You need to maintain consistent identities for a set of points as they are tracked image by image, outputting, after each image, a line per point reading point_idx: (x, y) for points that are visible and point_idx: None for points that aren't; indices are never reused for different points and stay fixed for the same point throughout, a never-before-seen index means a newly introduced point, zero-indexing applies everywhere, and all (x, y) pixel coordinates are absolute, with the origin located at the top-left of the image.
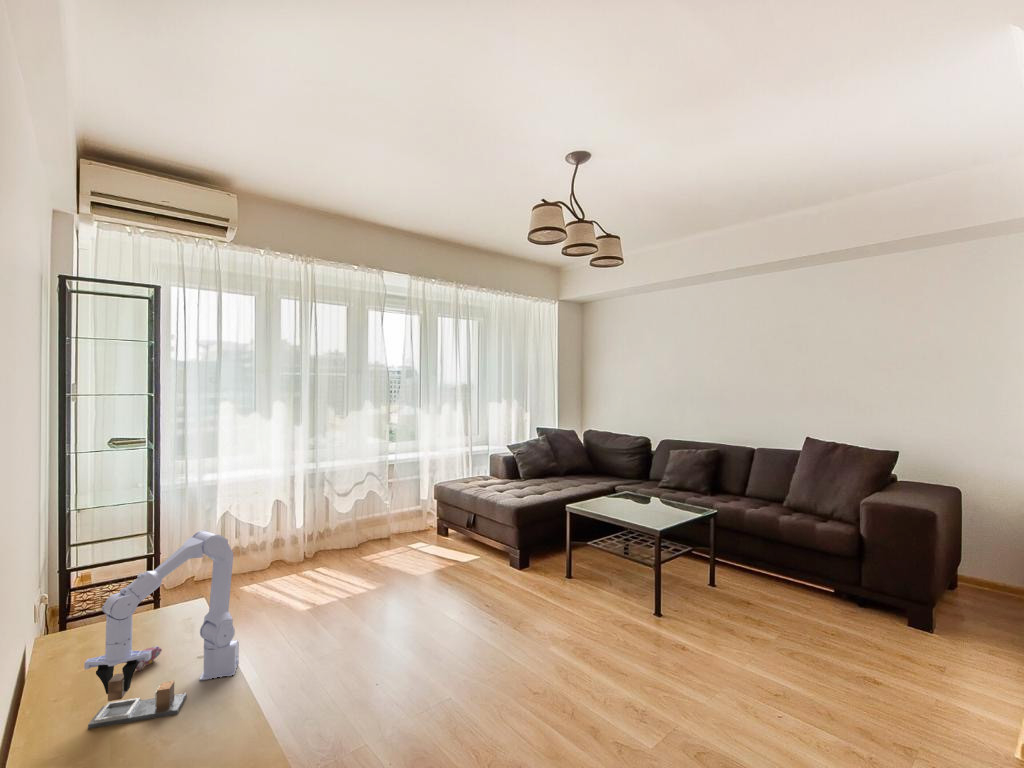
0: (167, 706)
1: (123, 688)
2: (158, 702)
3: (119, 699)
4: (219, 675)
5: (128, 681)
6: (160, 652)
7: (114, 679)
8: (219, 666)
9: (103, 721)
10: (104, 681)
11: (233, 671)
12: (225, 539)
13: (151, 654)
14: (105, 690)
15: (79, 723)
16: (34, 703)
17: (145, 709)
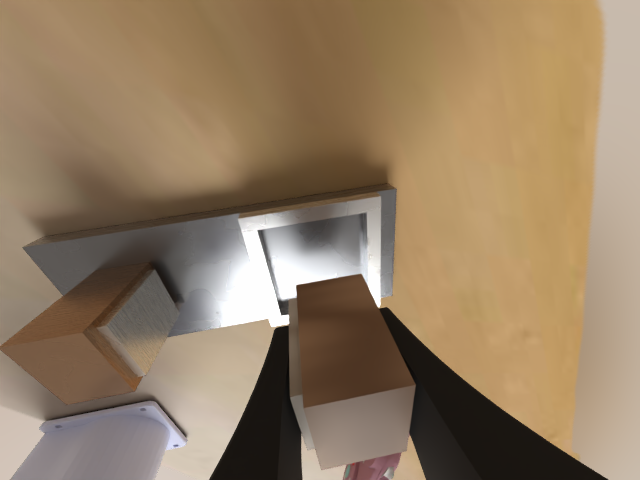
0: (100, 271)
1: (289, 339)
2: (123, 281)
3: (305, 283)
4: (90, 420)
5: (252, 396)
6: (344, 474)
7: (377, 412)
8: (65, 461)
9: (340, 198)
10: (452, 391)
11: (45, 437)
12: None
13: (358, 474)
14: (402, 323)
15: (433, 227)
16: (569, 326)
17: (204, 264)
